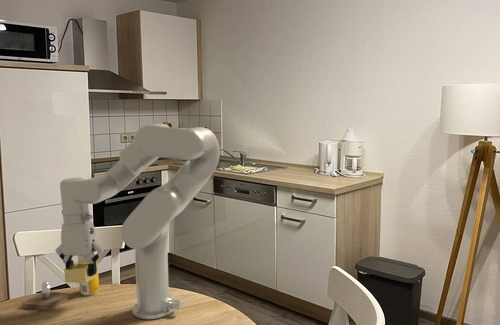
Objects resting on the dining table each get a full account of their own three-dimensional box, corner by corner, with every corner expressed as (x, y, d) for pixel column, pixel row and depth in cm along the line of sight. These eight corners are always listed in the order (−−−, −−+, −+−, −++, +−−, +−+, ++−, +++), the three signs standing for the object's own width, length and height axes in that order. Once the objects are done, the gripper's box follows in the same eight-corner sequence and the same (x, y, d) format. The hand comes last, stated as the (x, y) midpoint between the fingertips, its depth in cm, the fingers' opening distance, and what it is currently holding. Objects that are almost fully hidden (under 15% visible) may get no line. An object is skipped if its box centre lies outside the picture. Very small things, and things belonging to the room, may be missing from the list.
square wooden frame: (98, 274, 150) (97, 262, 149) (85, 282, 143) (84, 270, 142) (78, 274, 151) (77, 262, 151) (65, 282, 144) (64, 269, 144)
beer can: (102, 289, 161) (99, 246, 159) (94, 296, 155) (92, 252, 153) (85, 289, 162) (82, 246, 160) (76, 296, 156) (74, 251, 154)
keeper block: (70, 297, 155) (69, 276, 154) (51, 310, 145) (49, 288, 144) (43, 295, 157) (42, 274, 156) (22, 307, 147) (21, 286, 146)
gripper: (108, 215, 146) (113, 271, 148) (58, 215, 150) (64, 269, 152) (95, 221, 139) (100, 279, 141) (43, 221, 143) (49, 278, 145)
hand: (81, 274), depth 147 cm, fingers closed on square wooden frame, 7 cm apart
